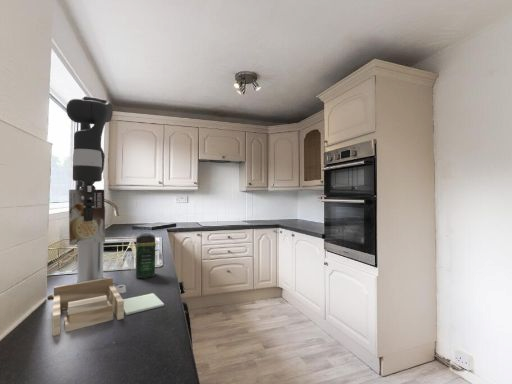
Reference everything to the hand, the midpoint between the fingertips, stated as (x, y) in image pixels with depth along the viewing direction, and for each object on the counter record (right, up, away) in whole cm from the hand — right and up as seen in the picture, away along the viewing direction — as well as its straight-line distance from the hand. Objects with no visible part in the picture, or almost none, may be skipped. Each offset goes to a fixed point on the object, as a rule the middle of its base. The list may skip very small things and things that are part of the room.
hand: (87, 220), depth 81 cm
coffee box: (0, -7, 0) cm, 7 cm away
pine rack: (+1, -27, -2) cm, 28 cm away
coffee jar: (+3, -29, +36) cm, 46 cm away
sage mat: (+14, -28, +5) cm, 31 cm away
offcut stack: (+5, -28, -7) cm, 29 cm away
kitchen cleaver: (-8, -29, +13) cm, 32 cm away
